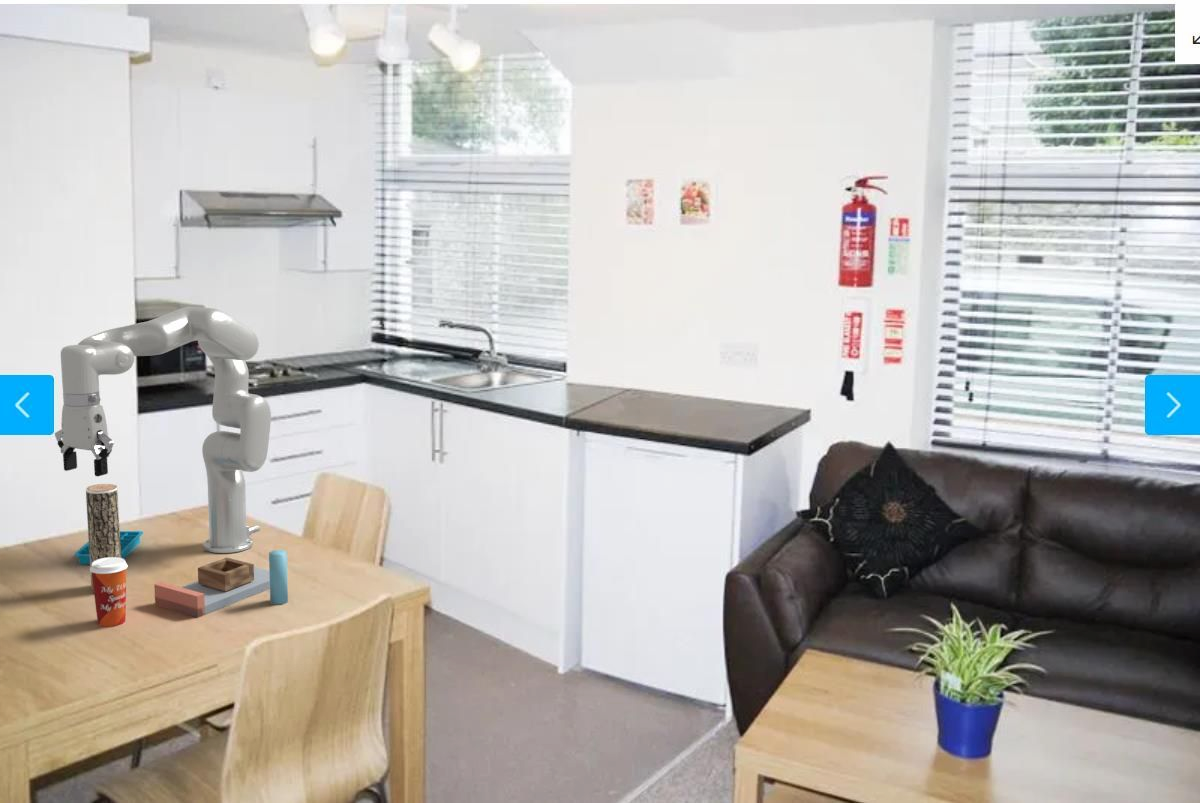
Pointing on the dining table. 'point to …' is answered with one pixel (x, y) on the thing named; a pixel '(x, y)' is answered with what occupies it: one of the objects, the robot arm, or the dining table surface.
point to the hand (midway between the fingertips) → (85, 472)
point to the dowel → (278, 577)
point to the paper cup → (110, 590)
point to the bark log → (103, 522)
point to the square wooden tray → (225, 574)
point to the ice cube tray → (126, 546)
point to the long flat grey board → (207, 595)
